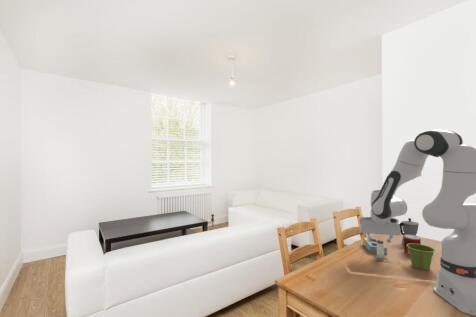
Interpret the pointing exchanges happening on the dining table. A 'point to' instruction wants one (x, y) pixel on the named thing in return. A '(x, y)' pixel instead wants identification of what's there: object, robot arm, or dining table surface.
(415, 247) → the plant pot
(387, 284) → the dining table surface
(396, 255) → the dining table surface
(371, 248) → the socket box
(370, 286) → the dining table surface
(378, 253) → the plug
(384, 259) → the deck
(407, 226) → the coffeepot
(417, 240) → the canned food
